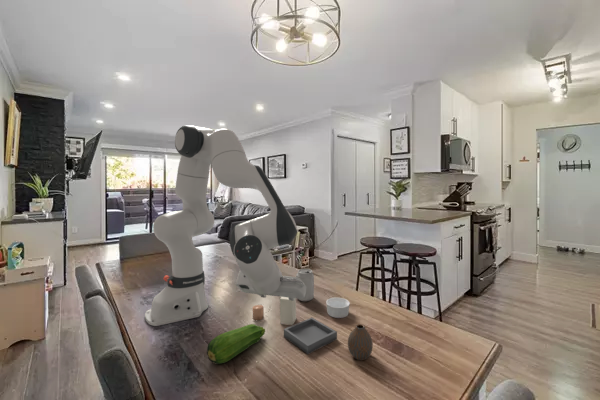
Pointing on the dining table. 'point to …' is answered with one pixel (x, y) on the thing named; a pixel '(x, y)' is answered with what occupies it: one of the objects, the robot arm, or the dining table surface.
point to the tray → (310, 335)
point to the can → (307, 283)
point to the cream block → (287, 311)
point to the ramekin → (337, 307)
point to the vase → (360, 343)
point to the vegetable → (233, 343)
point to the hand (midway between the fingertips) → (278, 296)
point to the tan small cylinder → (258, 312)
